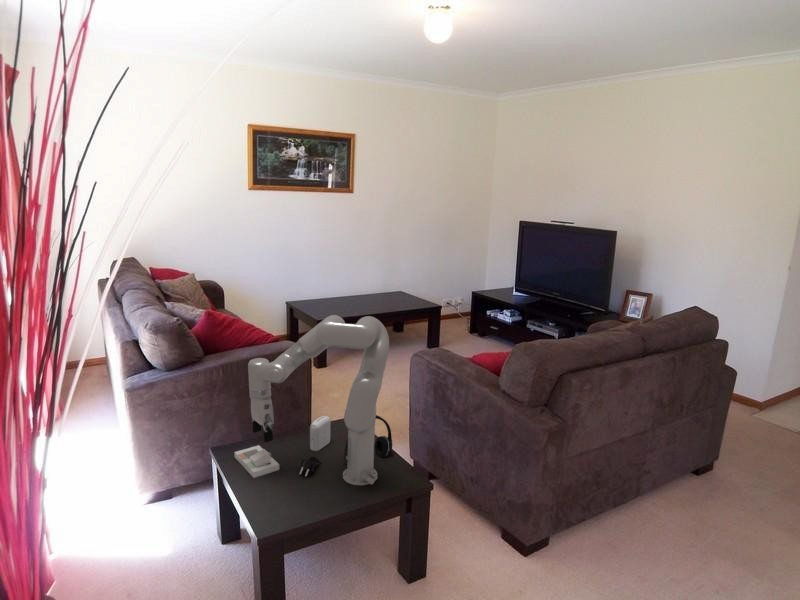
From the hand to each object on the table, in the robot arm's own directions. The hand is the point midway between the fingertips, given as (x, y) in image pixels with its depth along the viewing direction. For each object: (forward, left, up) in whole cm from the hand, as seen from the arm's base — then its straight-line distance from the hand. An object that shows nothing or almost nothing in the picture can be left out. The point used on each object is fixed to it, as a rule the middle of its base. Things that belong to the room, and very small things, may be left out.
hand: (262, 436), depth 199 cm
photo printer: (+4, -26, -13) cm, 30 cm away
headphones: (-16, -36, -13) cm, 42 cm away
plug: (+1, +4, -10) cm, 11 cm away
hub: (+5, +1, -13) cm, 14 cm away
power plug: (-10, -18, -15) cm, 26 cm away
